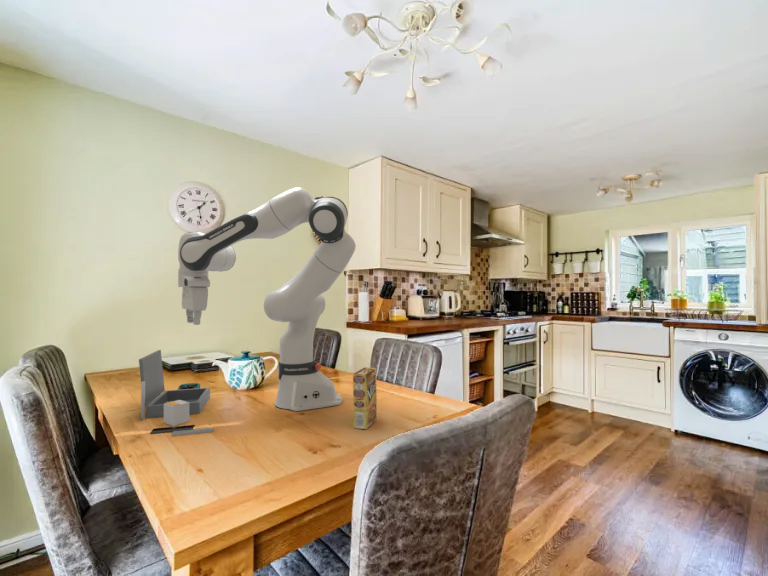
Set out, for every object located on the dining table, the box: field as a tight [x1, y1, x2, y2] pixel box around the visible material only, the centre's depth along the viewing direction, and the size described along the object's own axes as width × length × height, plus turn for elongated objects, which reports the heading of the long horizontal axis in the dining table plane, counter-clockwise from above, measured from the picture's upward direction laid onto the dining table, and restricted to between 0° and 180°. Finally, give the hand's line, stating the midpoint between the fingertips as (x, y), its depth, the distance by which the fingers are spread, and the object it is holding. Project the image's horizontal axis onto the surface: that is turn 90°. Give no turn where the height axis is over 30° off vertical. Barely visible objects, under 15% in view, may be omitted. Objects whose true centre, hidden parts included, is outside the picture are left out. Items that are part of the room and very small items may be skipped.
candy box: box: [352, 367, 378, 430], centre depth 106 cm, size 9×4×15 cm, turn 162°
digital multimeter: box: [177, 382, 201, 390], centre depth 138 cm, size 7×15×3 cm, turn 21°
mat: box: [149, 424, 195, 435], centre depth 105 cm, size 10×10×1 cm
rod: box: [171, 426, 215, 437], centre depth 99 cm, size 10×1×1 cm, turn 107°
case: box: [140, 381, 211, 421], centre depth 118 cm, size 15×20×12 cm
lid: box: [138, 349, 166, 408], centre depth 116 cm, size 14×18×1 cm
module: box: [163, 400, 190, 428], centre depth 105 cm, size 5×4×6 cm
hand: (193, 323), depth 121 cm, fingers open, 8 cm apart
